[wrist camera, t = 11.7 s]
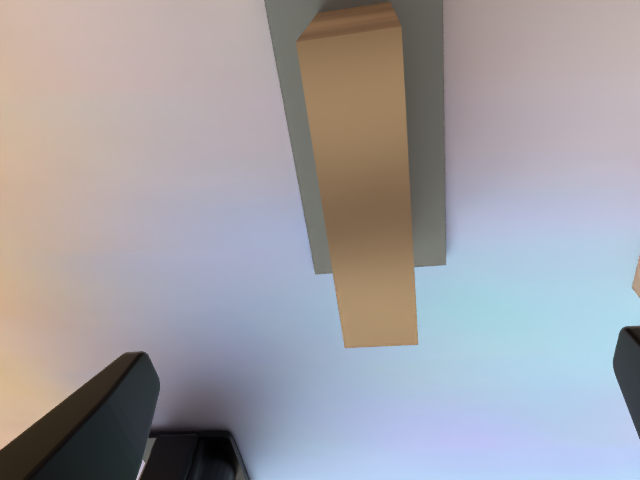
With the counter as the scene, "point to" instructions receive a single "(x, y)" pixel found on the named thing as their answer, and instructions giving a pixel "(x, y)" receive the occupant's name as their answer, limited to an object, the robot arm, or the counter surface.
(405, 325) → the tan long block
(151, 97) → the counter surface
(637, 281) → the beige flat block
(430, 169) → the mat
